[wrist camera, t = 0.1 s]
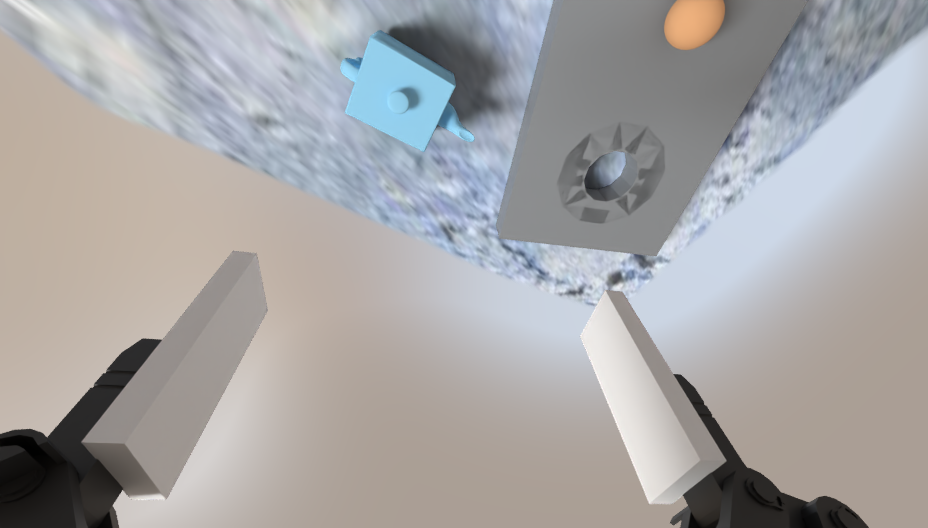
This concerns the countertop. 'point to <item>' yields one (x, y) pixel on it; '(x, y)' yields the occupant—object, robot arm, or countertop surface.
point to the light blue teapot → (401, 92)
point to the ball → (693, 22)
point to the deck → (630, 118)
